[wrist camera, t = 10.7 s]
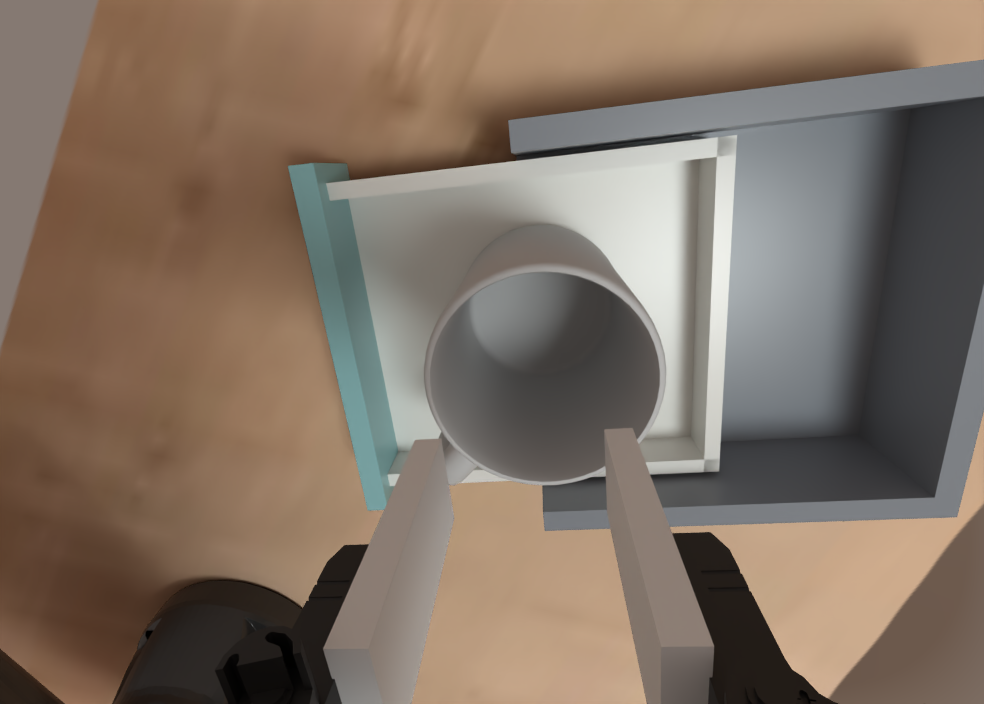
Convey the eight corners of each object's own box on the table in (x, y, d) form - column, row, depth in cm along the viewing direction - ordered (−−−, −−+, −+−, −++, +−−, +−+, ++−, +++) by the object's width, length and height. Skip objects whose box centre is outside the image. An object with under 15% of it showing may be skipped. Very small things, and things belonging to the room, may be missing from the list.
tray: (388, 468, 33) (367, 510, 29) (325, 166, 27) (287, 166, 22) (699, 453, 31) (724, 496, 27) (712, 119, 24) (747, 109, 20)
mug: (523, 189, 25) (516, 204, 15) (652, 287, 27) (726, 362, 16) (401, 363, 29) (329, 470, 19) (518, 442, 30) (510, 581, 20)
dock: (542, 458, 33) (544, 530, 26) (514, 131, 26) (508, 120, 20) (867, 442, 31) (957, 517, 24) (927, 80, 24) (1075, 48, 17)
